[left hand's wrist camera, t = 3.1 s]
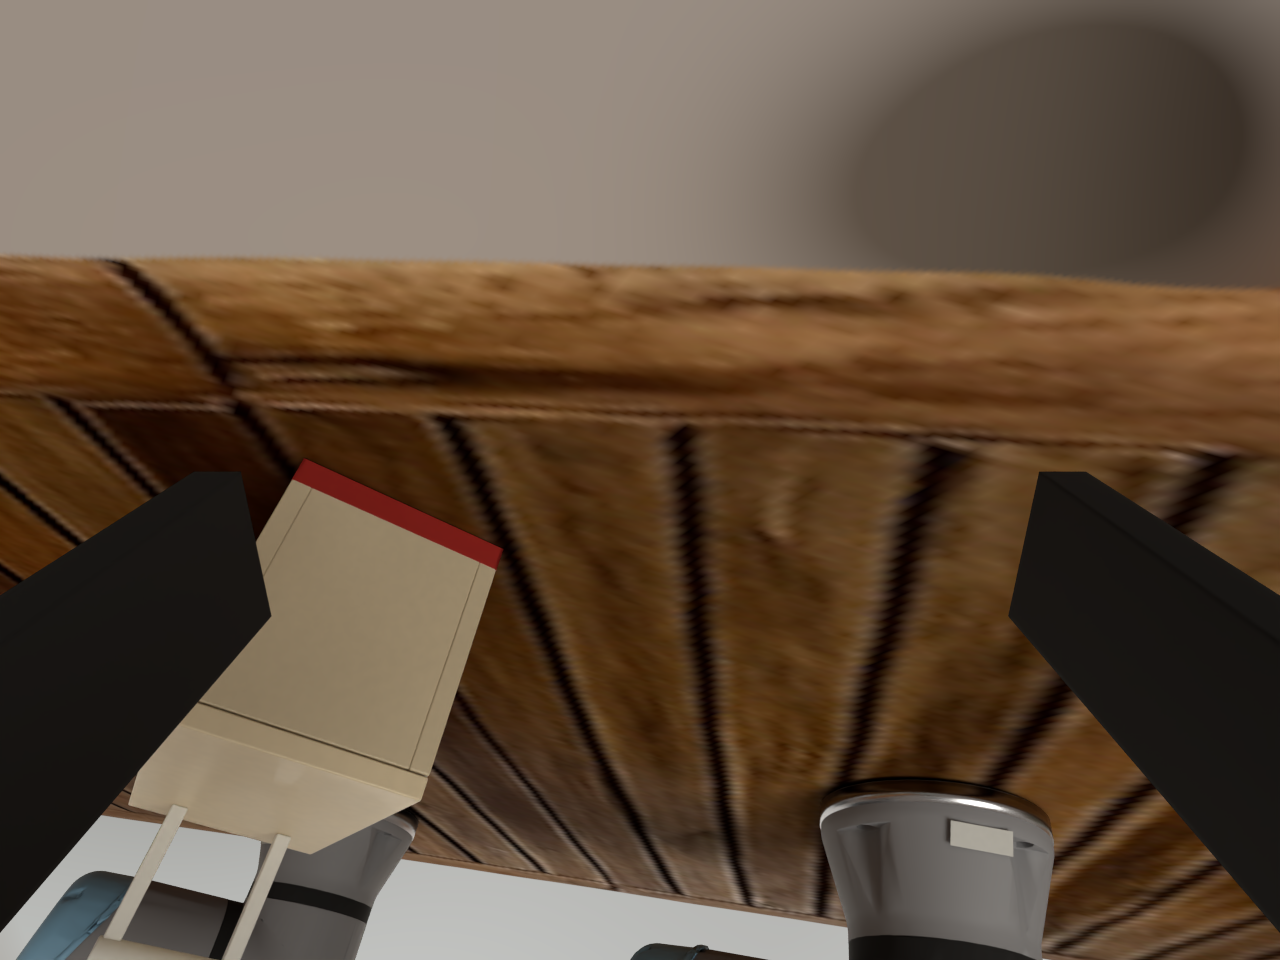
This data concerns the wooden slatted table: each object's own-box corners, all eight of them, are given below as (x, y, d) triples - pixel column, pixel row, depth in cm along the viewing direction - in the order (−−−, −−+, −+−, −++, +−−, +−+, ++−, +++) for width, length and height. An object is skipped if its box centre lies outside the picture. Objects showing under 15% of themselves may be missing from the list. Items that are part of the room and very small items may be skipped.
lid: (317, 837, 40) (248, 1012, 35) (137, 787, 37) (34, 971, 32) (429, 777, 27) (344, 1038, 22) (168, 692, 24) (4, 974, 19)
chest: (391, 659, 46) (322, 834, 39) (240, 602, 43) (138, 782, 36) (503, 548, 34) (430, 776, 27) (304, 458, 31) (168, 690, 24)
